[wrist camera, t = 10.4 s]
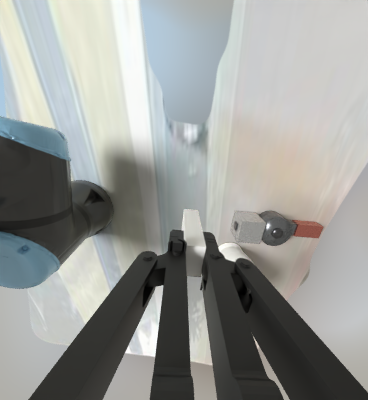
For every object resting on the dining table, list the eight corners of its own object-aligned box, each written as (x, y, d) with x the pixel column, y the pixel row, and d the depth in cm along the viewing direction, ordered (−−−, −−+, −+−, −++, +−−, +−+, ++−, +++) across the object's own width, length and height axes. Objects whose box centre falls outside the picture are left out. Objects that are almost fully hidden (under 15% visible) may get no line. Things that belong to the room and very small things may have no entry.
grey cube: (229, 229, 49) (235, 241, 43) (233, 210, 47) (241, 220, 41) (250, 231, 49) (259, 243, 44) (256, 212, 47) (266, 223, 41)
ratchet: (237, 233, 49) (244, 244, 44) (243, 208, 47) (251, 217, 41) (309, 239, 50) (324, 251, 45) (319, 215, 48) (336, 224, 43)
